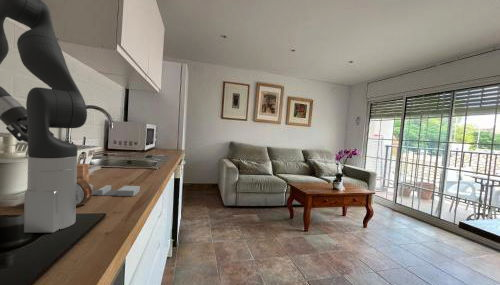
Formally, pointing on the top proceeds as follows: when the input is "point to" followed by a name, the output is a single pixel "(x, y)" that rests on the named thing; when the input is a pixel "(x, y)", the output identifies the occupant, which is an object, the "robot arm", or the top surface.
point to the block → (83, 171)
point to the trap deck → (116, 191)
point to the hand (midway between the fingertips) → (48, 147)
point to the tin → (82, 192)
